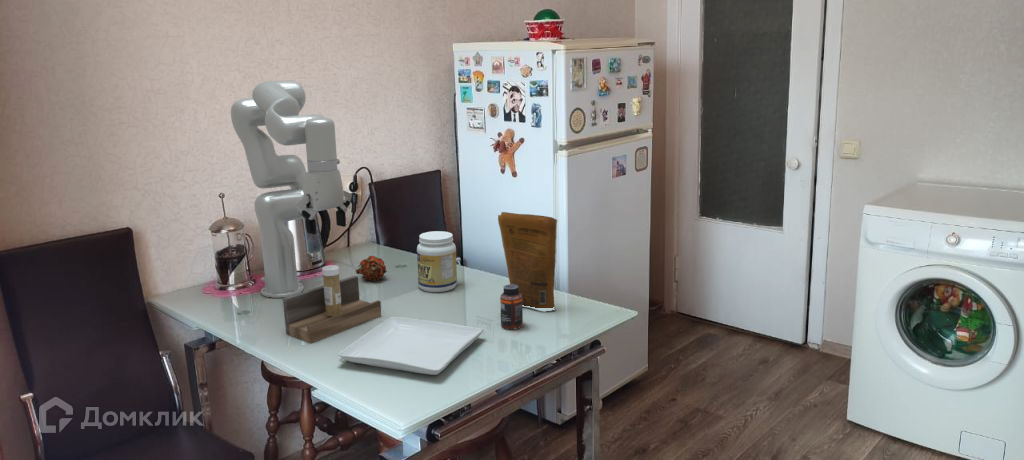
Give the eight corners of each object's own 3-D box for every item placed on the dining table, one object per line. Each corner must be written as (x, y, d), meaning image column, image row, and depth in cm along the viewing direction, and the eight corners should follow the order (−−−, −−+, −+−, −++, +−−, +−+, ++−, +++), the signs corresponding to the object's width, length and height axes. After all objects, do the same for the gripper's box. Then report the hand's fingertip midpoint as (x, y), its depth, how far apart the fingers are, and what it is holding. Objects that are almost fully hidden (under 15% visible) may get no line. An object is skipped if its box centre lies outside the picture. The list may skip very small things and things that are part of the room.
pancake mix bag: (549, 317, 204) (550, 219, 197) (497, 303, 215) (495, 210, 208) (563, 310, 209) (564, 215, 202) (511, 296, 220) (510, 206, 213)
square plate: (440, 385, 165) (439, 369, 164) (336, 368, 174) (334, 353, 173) (485, 340, 190) (485, 326, 189) (392, 327, 199) (391, 314, 198)
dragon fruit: (380, 289, 233) (363, 285, 243) (397, 269, 237) (380, 266, 246) (363, 271, 229) (346, 268, 239) (381, 251, 233) (363, 249, 242)
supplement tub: (410, 286, 231) (408, 234, 226) (441, 278, 238) (439, 228, 234) (433, 296, 222) (431, 242, 218) (465, 287, 230) (463, 234, 225)
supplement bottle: (525, 323, 199) (525, 284, 197) (518, 331, 194) (518, 291, 191) (505, 321, 201) (504, 282, 198) (497, 328, 196) (496, 288, 193)
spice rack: (286, 333, 194) (282, 298, 192) (356, 308, 212) (354, 275, 210) (310, 343, 188) (307, 306, 185) (381, 316, 206) (379, 282, 203)
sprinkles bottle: (344, 315, 199) (341, 267, 195) (328, 318, 196) (325, 270, 193) (338, 310, 202) (335, 263, 199) (322, 313, 200) (319, 266, 197)
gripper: (339, 160, 199) (343, 221, 203) (285, 169, 186) (290, 234, 190) (357, 163, 194) (361, 225, 199) (303, 172, 181) (308, 239, 186)
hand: (326, 229), depth 194 cm, fingers open, 9 cm apart
